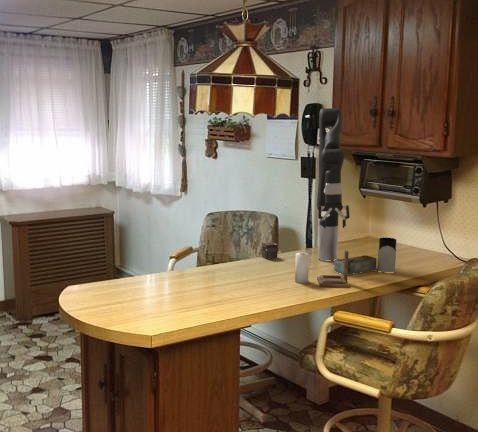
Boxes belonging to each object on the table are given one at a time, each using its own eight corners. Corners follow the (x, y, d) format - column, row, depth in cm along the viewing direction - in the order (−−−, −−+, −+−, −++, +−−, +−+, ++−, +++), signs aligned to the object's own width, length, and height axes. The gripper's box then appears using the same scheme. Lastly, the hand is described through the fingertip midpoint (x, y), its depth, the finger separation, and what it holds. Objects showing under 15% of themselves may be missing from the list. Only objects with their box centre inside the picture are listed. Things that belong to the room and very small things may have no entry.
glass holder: (376, 272, 265) (377, 240, 263) (376, 265, 279) (378, 234, 276) (396, 274, 263) (398, 241, 261) (395, 266, 277) (397, 235, 274)
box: (261, 257, 293) (261, 242, 292) (271, 256, 296) (272, 241, 295) (266, 259, 288) (267, 245, 287) (277, 258, 290) (278, 244, 289)
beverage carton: (333, 272, 267) (333, 257, 265) (365, 267, 276) (366, 254, 274) (344, 276, 260) (344, 261, 259) (377, 271, 269) (377, 257, 268)
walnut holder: (316, 279, 253) (318, 247, 251) (344, 279, 253) (346, 248, 251) (319, 287, 241) (321, 253, 239) (349, 287, 241) (350, 254, 239)
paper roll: (294, 279, 252) (295, 251, 250) (307, 279, 252) (308, 252, 250) (295, 283, 247) (296, 254, 245) (308, 283, 247) (309, 255, 245)
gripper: (349, 191, 270) (349, 226, 272) (318, 192, 273) (319, 226, 276) (348, 193, 263) (349, 228, 265) (317, 194, 266) (317, 229, 268)
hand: (334, 227), depth 270 cm, fingers open, 8 cm apart
